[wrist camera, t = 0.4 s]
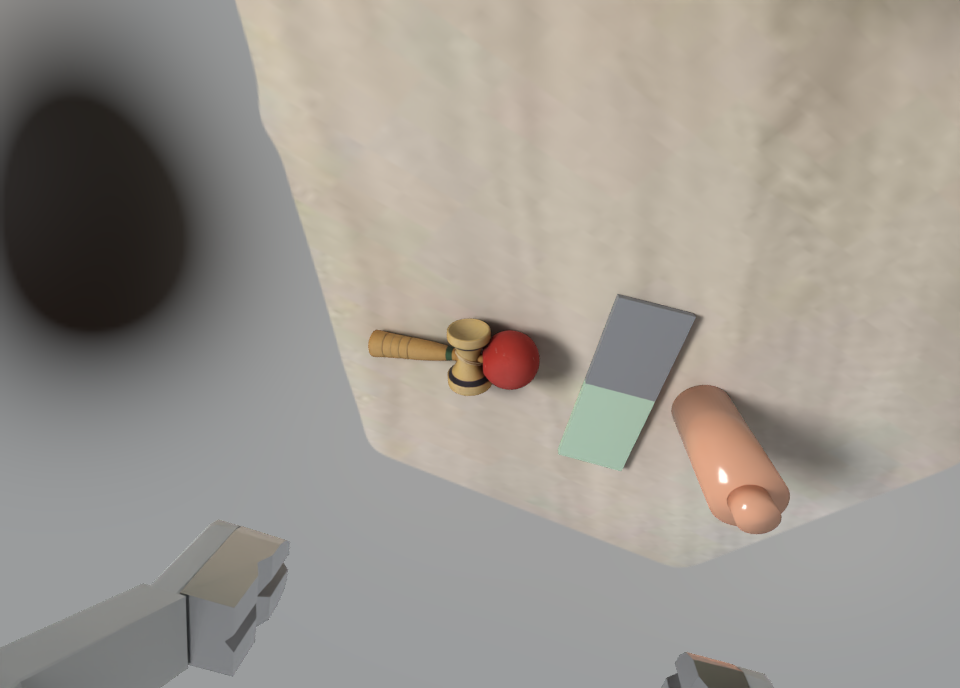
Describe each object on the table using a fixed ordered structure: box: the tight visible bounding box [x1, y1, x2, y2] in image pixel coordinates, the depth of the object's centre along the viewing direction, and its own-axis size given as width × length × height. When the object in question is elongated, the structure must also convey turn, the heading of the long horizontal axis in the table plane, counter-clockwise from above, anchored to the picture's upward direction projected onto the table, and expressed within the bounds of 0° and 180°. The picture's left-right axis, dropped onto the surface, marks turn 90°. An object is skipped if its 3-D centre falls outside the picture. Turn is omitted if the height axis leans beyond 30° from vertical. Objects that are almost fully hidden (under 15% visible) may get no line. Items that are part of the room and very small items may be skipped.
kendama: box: [368, 319, 540, 396], centre depth 47 cm, size 8×6×18 cm
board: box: [558, 294, 696, 471], centre depth 47 cm, size 20×8×1 cm, turn 168°
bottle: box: [671, 385, 790, 534], centre depth 41 cm, size 6×6×15 cm
